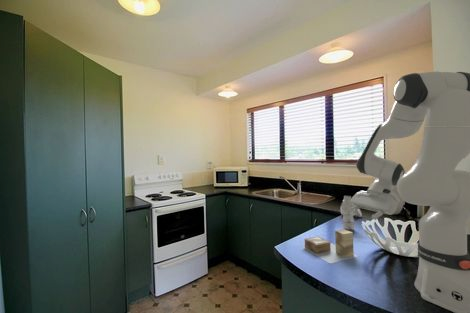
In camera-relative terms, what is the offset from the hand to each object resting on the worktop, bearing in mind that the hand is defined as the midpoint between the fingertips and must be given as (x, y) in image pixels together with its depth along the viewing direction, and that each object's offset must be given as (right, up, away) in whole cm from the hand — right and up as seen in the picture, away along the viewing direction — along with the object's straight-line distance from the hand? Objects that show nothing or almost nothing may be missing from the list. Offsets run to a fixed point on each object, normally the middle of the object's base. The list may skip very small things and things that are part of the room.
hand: (363, 216), depth 99 cm
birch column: (-11, -16, -4) cm, 20 cm away
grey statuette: (+9, -17, +29) cm, 35 cm away
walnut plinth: (-21, -17, +2) cm, 27 cm away
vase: (+58, -15, +62) cm, 87 cm away
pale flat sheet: (-17, -17, -1) cm, 24 cm away
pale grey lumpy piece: (+25, -16, +58) cm, 65 cm away
